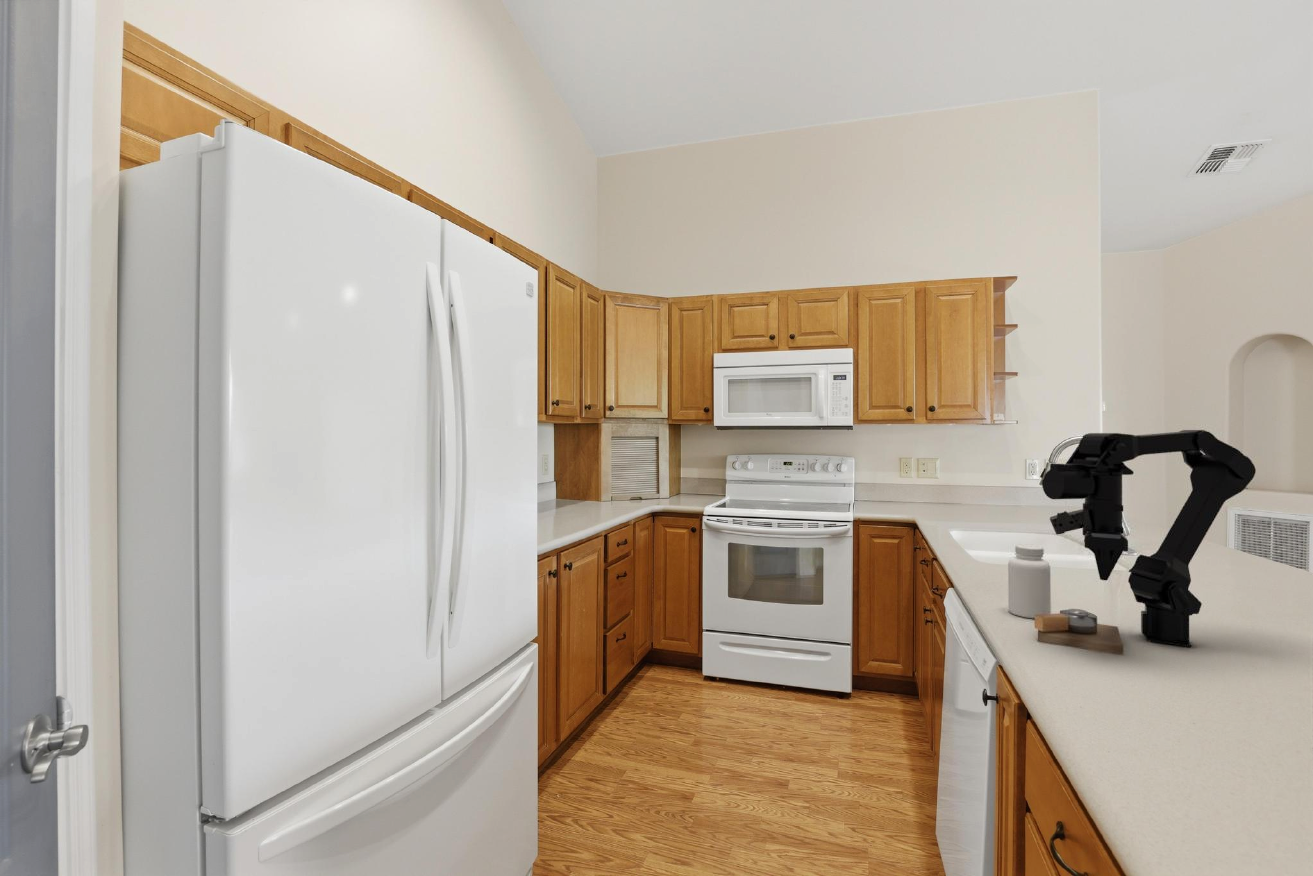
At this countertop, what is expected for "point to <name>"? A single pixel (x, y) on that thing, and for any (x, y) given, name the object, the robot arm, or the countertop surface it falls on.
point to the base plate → (1086, 639)
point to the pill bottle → (1029, 582)
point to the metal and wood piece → (1068, 621)
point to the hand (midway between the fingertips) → (1103, 579)
